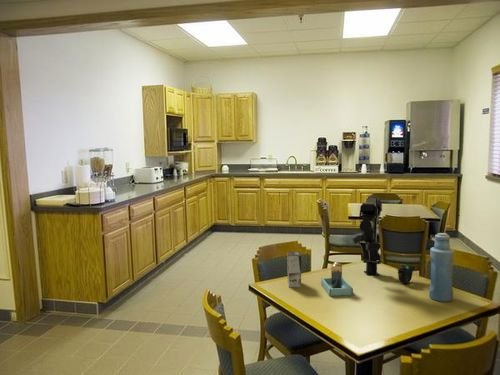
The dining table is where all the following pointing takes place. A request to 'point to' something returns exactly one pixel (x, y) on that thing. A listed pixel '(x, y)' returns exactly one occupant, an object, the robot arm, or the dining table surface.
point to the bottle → (441, 269)
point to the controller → (405, 273)
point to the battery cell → (336, 275)
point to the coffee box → (294, 269)
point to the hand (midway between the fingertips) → (367, 258)
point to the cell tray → (343, 291)
